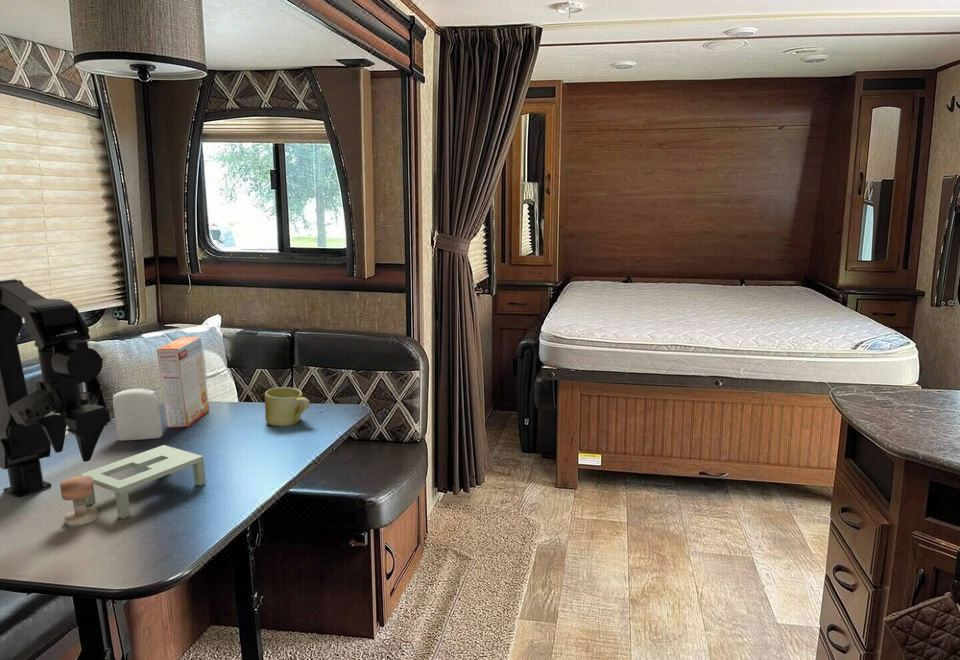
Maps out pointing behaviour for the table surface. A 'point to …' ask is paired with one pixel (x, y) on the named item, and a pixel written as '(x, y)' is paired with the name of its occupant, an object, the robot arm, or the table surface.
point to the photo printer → (137, 414)
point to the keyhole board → (166, 464)
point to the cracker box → (183, 381)
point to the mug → (284, 406)
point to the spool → (78, 500)
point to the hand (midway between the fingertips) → (72, 456)
